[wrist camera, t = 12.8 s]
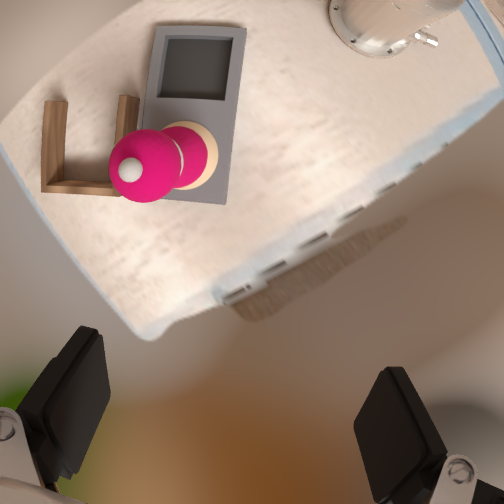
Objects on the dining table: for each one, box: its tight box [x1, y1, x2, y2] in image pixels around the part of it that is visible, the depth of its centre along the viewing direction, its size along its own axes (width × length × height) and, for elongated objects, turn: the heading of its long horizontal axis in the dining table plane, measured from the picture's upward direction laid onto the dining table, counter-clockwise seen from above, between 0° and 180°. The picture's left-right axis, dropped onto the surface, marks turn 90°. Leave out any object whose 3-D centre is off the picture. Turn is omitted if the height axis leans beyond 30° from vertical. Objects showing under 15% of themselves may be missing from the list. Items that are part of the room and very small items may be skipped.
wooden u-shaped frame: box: [41, 95, 140, 197], centre depth 38 cm, size 13×13×5 cm
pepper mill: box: [109, 126, 208, 203], centre depth 30 cm, size 7×7×20 cm
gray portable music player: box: [142, 25, 247, 205], centre depth 38 cm, size 12×24×2 cm, turn 173°
